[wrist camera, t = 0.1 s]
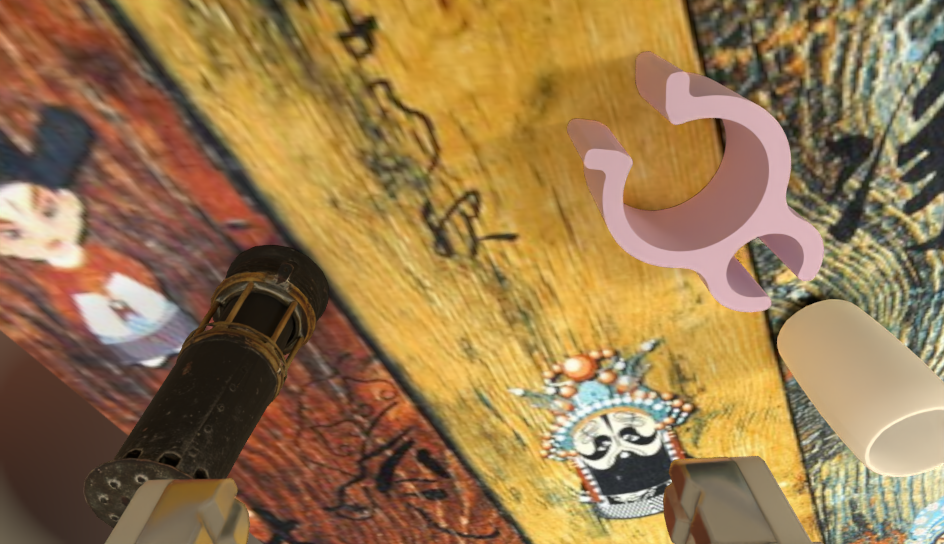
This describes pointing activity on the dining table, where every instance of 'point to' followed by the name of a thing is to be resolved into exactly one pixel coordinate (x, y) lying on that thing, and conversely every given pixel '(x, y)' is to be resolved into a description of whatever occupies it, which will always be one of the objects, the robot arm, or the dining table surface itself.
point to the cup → (867, 387)
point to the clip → (705, 190)
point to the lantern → (218, 378)
